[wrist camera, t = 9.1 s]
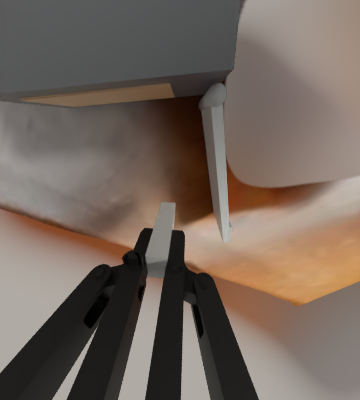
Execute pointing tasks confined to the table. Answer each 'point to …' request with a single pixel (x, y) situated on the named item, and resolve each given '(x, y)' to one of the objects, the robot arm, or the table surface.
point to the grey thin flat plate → (216, 154)
